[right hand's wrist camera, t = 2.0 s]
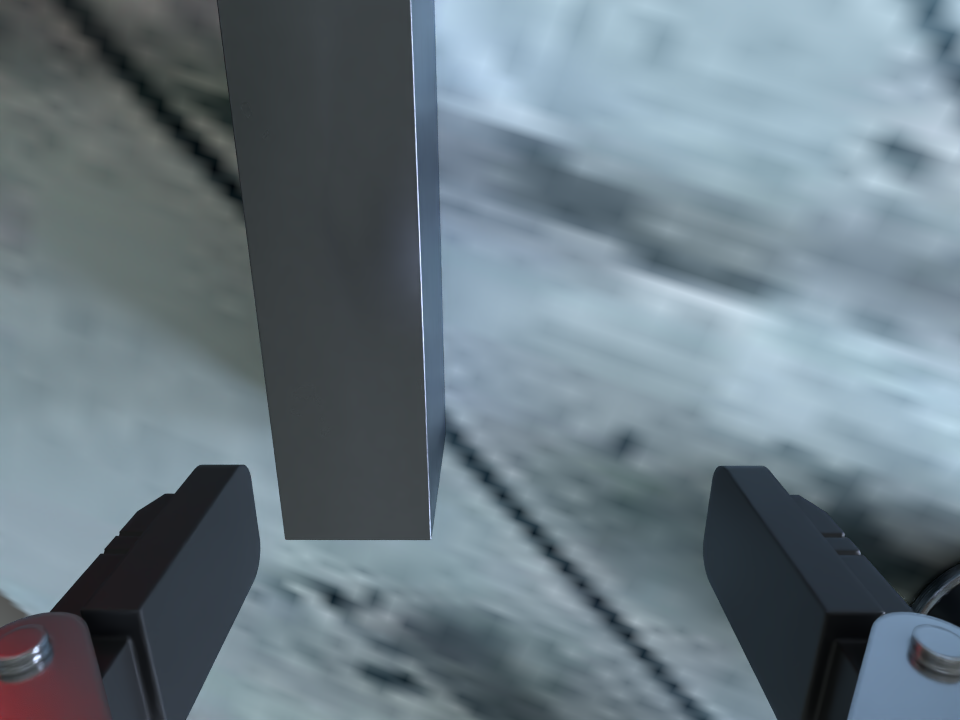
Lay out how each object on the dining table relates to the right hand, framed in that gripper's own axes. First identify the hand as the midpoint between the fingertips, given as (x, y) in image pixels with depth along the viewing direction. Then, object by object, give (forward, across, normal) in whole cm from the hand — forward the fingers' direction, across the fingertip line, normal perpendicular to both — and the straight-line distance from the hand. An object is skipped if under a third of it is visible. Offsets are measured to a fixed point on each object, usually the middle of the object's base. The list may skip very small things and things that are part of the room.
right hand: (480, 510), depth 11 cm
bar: (+19, +4, -5) cm, 20 cm away
